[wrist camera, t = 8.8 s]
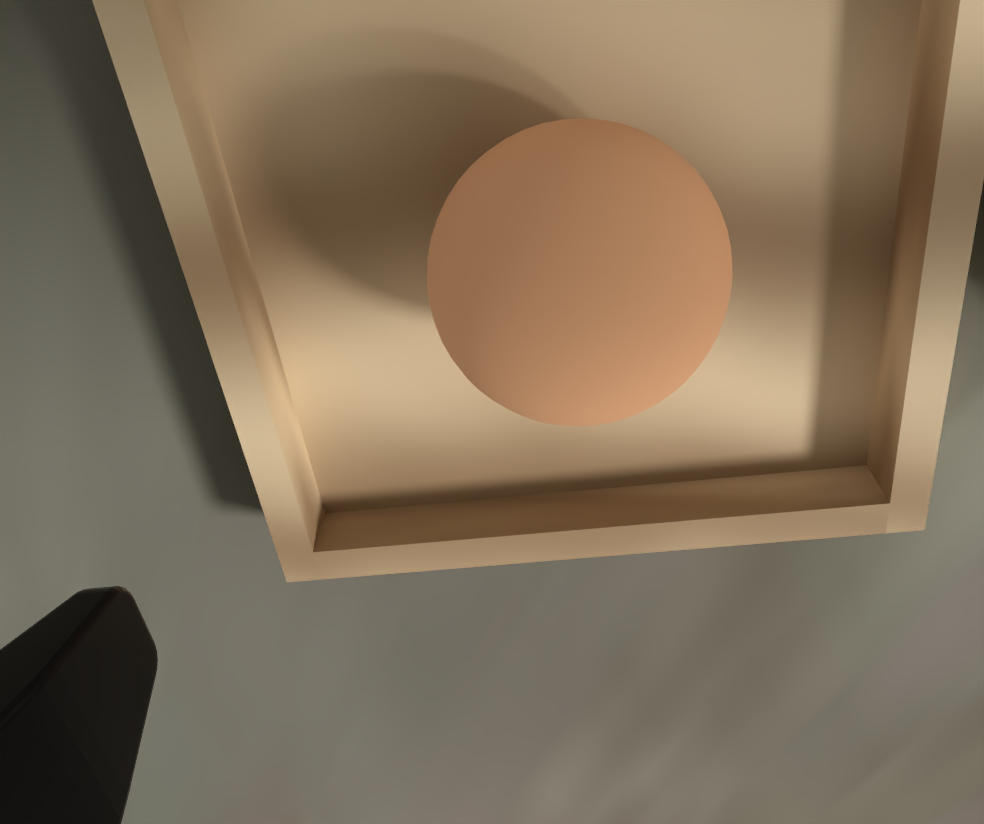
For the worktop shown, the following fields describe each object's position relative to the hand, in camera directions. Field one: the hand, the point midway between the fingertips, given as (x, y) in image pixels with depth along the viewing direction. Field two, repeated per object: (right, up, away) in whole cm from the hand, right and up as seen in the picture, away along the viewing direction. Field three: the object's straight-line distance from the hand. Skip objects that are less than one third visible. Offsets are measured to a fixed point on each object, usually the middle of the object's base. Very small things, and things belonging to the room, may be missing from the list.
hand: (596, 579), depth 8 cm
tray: (0, +5, +9) cm, 11 cm away
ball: (0, +5, +8) cm, 10 cm away
